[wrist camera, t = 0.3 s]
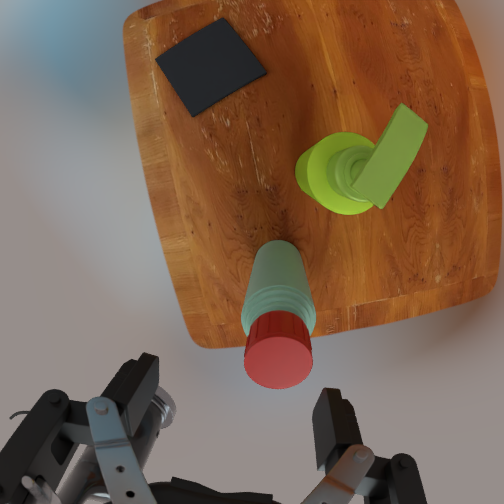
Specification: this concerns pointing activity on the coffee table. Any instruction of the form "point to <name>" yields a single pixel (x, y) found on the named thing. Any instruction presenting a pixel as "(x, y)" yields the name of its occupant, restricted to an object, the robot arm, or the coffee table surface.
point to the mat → (209, 66)
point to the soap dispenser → (361, 165)
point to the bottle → (278, 285)
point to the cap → (278, 350)
